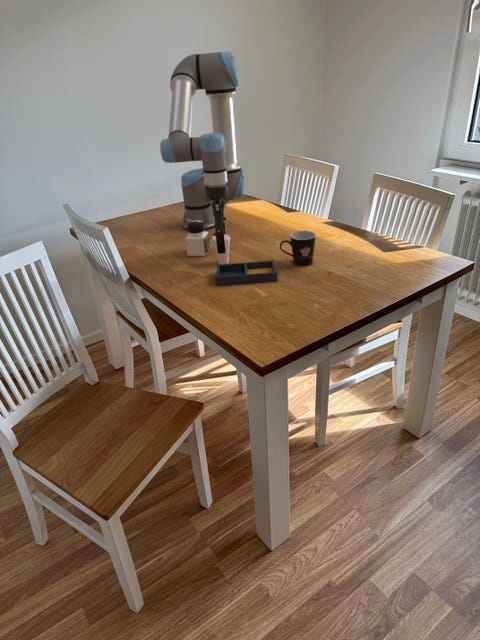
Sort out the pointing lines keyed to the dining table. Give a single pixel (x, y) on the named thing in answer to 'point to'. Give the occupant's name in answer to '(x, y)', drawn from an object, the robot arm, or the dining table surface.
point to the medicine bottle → (197, 239)
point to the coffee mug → (301, 247)
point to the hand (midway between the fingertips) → (221, 246)
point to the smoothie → (224, 257)
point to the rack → (246, 273)
